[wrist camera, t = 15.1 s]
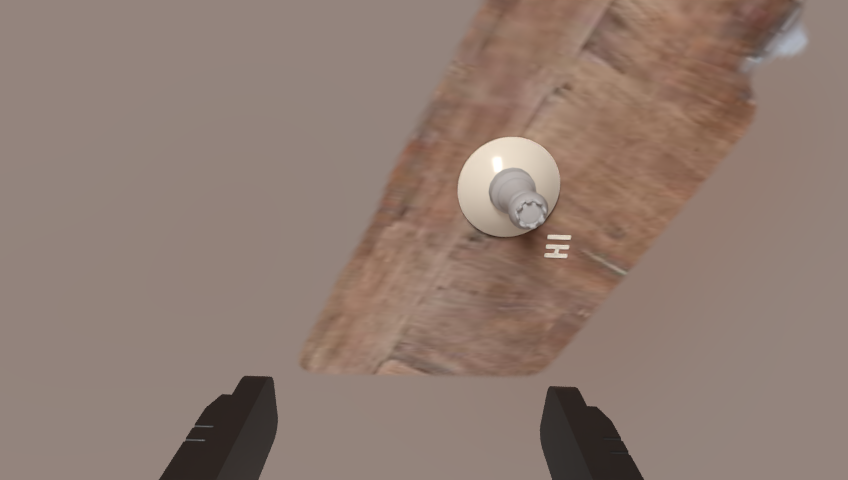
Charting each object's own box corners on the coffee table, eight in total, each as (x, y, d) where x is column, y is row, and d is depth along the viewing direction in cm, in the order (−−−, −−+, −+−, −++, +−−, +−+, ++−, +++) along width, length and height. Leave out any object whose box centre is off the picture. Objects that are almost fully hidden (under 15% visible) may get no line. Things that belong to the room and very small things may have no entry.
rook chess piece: (542, 187, 40) (571, 212, 32) (509, 219, 41) (529, 251, 34) (511, 156, 39) (533, 175, 31) (478, 190, 40) (491, 217, 32)
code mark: (566, 257, 43) (566, 258, 43) (544, 256, 43) (544, 257, 43) (570, 235, 42) (571, 235, 42) (547, 234, 42) (548, 234, 42)
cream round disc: (461, 133, 38) (462, 134, 38) (566, 138, 39) (568, 139, 38) (453, 232, 42) (454, 234, 42) (549, 236, 42) (551, 238, 42)
